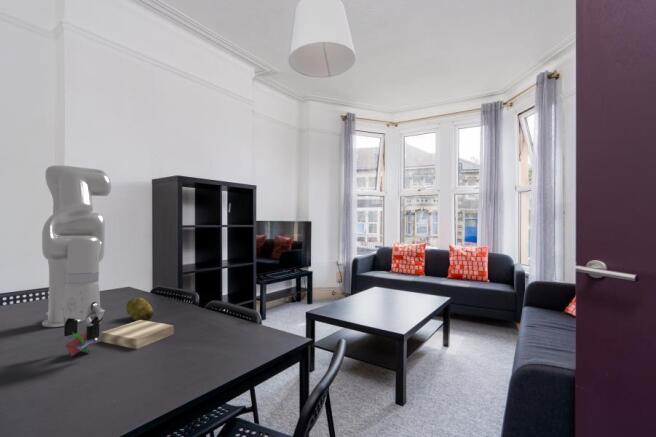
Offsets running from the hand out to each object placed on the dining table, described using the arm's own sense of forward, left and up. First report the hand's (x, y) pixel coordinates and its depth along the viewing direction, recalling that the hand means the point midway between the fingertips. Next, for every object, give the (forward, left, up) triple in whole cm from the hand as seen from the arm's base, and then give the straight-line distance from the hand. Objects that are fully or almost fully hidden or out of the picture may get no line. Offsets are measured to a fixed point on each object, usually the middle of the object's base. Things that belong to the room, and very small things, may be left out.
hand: (81, 336), depth 91 cm
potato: (-15, +30, -5) cm, 34 cm away
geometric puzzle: (-1, 0, -5) cm, 5 cm away
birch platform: (+3, +16, -5) cm, 17 cm away
